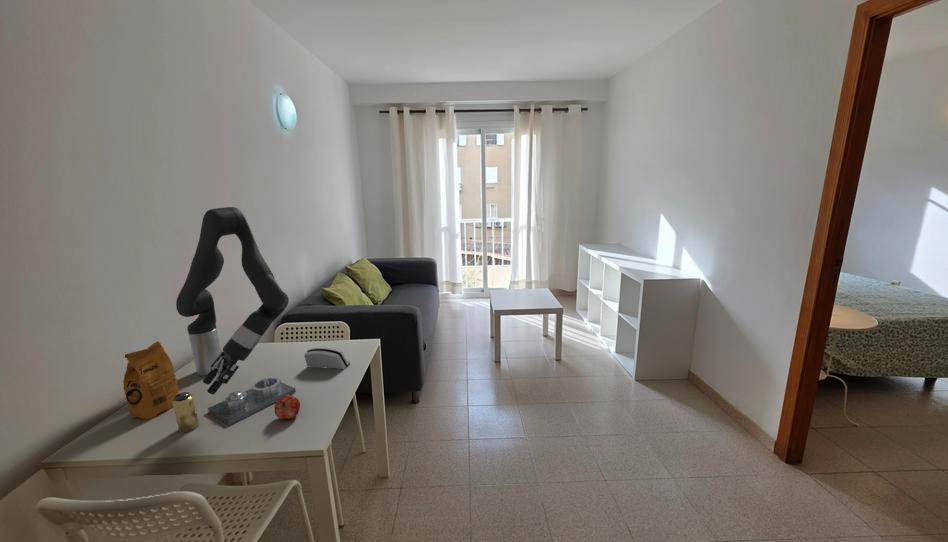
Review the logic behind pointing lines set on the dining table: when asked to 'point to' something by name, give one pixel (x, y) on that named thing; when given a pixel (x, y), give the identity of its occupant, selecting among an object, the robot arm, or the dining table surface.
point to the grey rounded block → (326, 358)
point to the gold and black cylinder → (185, 412)
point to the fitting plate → (250, 400)
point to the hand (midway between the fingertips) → (207, 388)
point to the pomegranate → (287, 407)
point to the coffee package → (149, 382)
